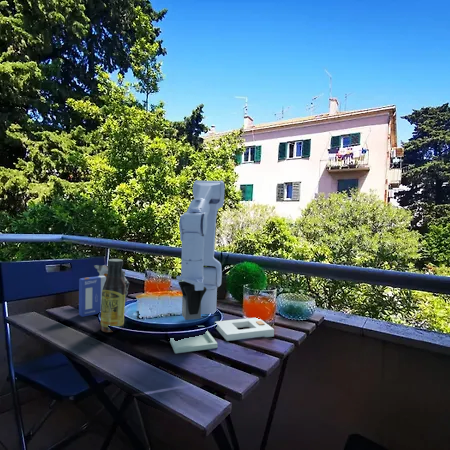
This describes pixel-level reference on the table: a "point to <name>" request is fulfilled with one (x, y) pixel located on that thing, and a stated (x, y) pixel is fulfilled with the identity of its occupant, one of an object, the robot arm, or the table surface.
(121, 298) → the sauce bottle
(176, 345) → the tray
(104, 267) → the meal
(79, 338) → the table surface
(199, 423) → the table surface
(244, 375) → the table surface
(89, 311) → the walkman
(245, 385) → the table surface
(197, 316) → the plug
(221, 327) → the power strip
